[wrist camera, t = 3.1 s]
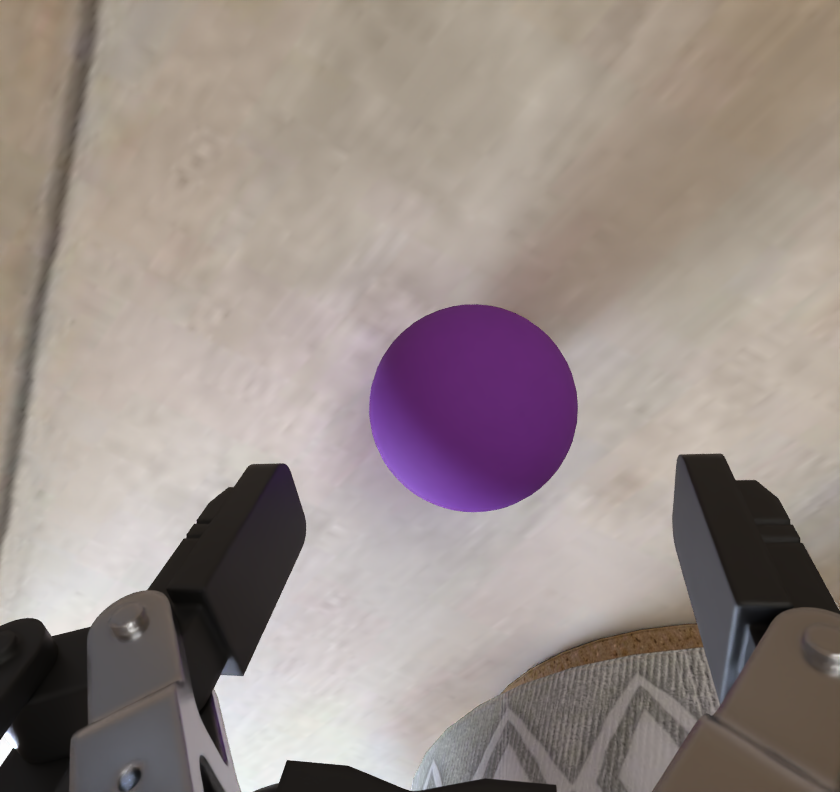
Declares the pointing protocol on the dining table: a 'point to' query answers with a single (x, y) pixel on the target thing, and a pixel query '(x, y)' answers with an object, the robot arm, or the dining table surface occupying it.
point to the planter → (585, 717)
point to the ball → (473, 408)
